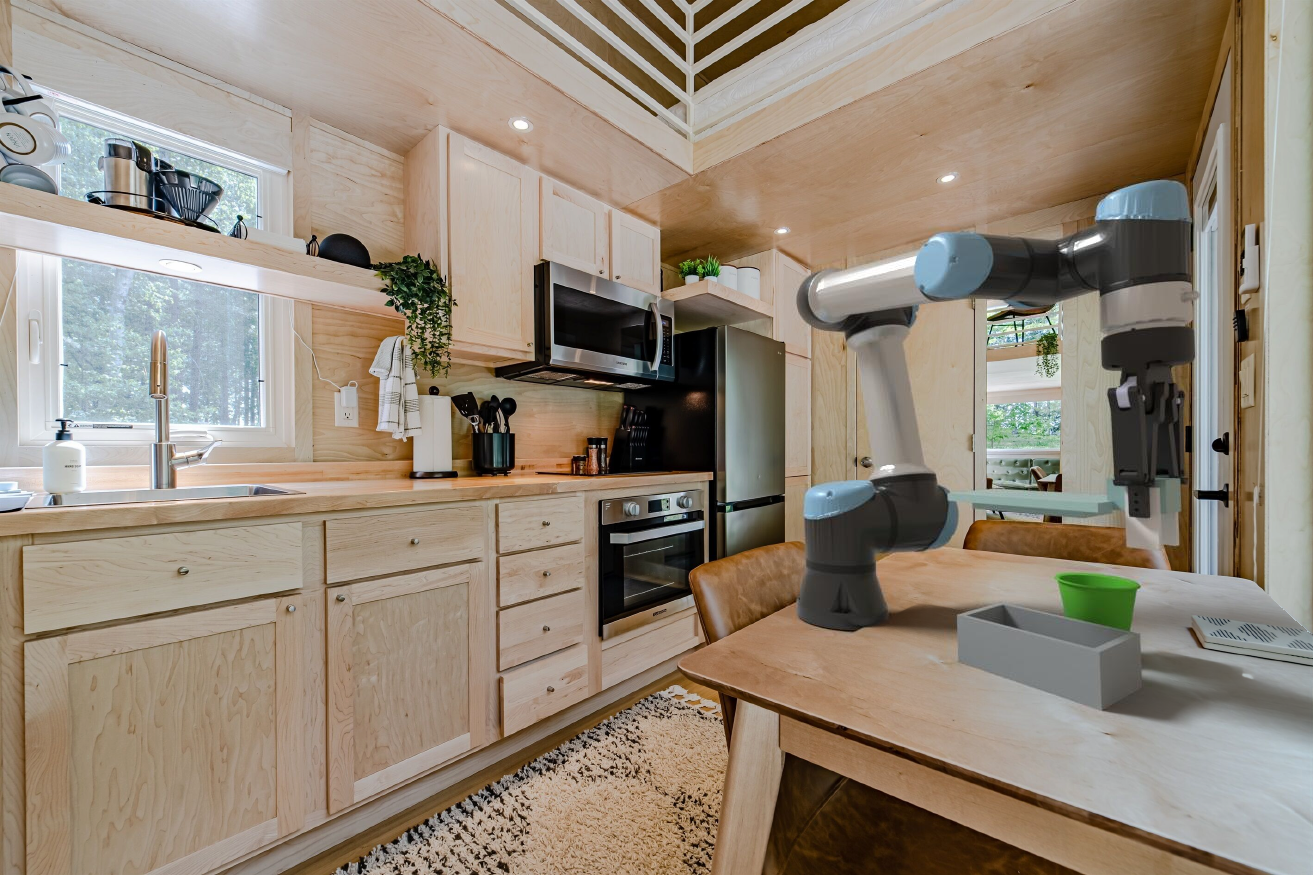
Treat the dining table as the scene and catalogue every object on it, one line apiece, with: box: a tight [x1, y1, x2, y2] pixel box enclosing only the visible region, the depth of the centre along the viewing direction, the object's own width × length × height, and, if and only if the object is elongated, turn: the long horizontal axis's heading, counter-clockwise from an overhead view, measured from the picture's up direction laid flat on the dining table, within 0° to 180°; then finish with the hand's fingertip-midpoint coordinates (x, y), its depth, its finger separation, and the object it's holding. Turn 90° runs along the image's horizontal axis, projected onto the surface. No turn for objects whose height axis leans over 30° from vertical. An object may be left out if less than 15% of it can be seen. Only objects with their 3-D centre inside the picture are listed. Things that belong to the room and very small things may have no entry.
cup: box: [1054, 571, 1142, 632], centre depth 72 cm, size 9×9×11 cm
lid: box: [948, 477, 1182, 519], centre depth 66 cm, size 21×11×4 cm, turn 30°
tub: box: [956, 601, 1143, 711], centre depth 67 cm, size 16×11×7 cm
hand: (1153, 545), depth 58 cm, fingers closed on lid, 4 cm apart
